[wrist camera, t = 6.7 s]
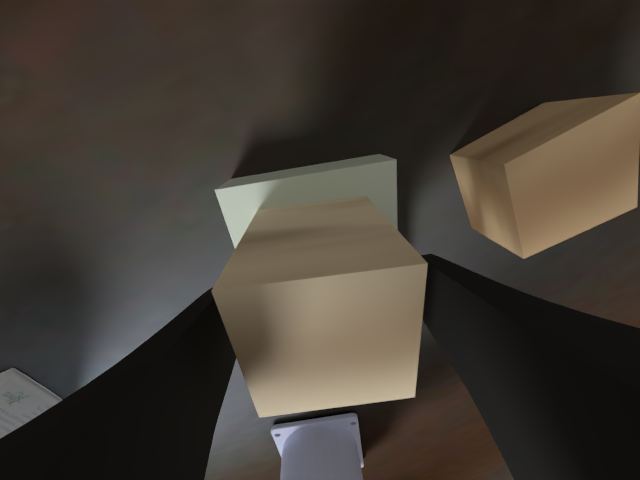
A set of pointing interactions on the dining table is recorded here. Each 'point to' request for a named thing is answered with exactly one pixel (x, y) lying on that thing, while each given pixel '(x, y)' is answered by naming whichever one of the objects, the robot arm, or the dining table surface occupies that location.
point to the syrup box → (21, 400)
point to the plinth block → (310, 189)
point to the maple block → (323, 307)
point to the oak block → (552, 172)
